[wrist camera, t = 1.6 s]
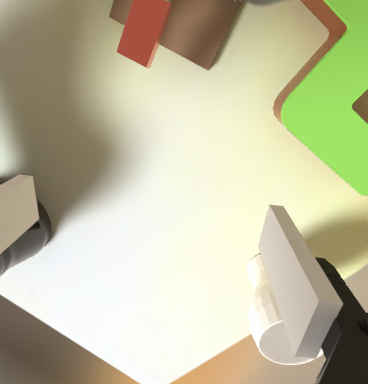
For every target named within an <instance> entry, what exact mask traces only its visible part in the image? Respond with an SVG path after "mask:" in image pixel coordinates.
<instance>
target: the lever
mask: <svg viewBox="0 0 368 384" xmlns="http://www.w3.org/2000/svg"><path fill="white" fill-rule="evenodd" d="M172 9H173V8H172V5H171V0H133V3H132V6H131V9H130V12H129V15H128V18H127V21H126V24H125V28H124V31H123V34H122V37H121V40H120V43H119V46H118V49H117V52H118V53H120V54H122V55H124V56H125V57H127V58H129V59H131V60H133V61H135V62H137V63H139V64H141V65H143V66H144V67H147V68H150V66H151V63H152V61H153V58H154V56H155V53H156V50H157V48H158V45H159V43H160V40H161V37H162V35H163V32H164V30H165V27H166V24H167V22H168V19H169V16H170V14H171V11H172Z"/></svg>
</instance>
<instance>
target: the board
mask: <svg viewBox="0 0 368 384" xmlns="http://www.w3.org/2000/svg"><path fill="white" fill-rule="evenodd" d="M240 2H241V1H239V0H237V1H236V3H234V2H232V1H230V0H171V5H172V8H173V9H172V11H171V14H170V16H169V19H168V22H167V24H166V27H165V30H164V32H163V35H162V37H161V40H160V43H159V44H160V45H162V46H164V47H166V48H168V49H170V50H171V51H173V52H175V53H177V54H179V55H181V56H183V57H184V58H186V59H188V60H190V61H192V62H194V63H195V64H197V65H199V66H201V67H203V68H205V69H207V70H209V68H210V66H211V63H212V61H213V59H214V57H215V55H216V53H217V51H218V49H219V47H220V44H221V42H222V40H223V38H224V36H225V34H226V32H227V30H228V28H229V25H230V23H231V21H232V19H233V17H234V15H235V13H236V11H237V9H238V6H239V4H240ZM132 3H133V0H114V2H113V6H112V9H111V12H110V16H109V17H111V18H112V19H114V20H116V21H118V22H120V23H121V24H123V25H125V24H126V21H127V18H128V15H129V12H130V9H131V6H132Z"/></svg>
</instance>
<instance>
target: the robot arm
mask: <svg viewBox="0 0 368 384" xmlns="http://www.w3.org/2000/svg"><path fill="white" fill-rule="evenodd" d="M50 233H51V226H50V221H49V218H48V215H47V213H46V211H45V210H44V208H43V207H42V205H41V204H40V203H39V202H38V201H37V200H36V193H35V187H34V180H33V176H28V175H17V176H16V177H14V178H12V179H10V180H9V181H7V182H5V183H0V276H1V275H2V274H3V273H4V272H5V271H6V270H7V269H9V268H11V267H13V266H15V265H17V264H19V263H21V262H23V261H24V260H26V259H28V258H30V257H32V256H34V255H35V254H37V253H38V252H39V251H40V250H41V249H42V248H43V246H44V245H45V244H46V243H47V241H48V240H49V237H50ZM258 247H259V250H260V253H261V256H262V259H263V262H264V265H265V268H266V271H267V274H268V277H269V280H270V283H271V286H272V289H273V292H274V295H275V298H276V301H277V304H278V307H279V310H280V313H281V316H282V320H283V323H284V326H285V329H286V332H287V335H288V338H289V341H290V344H291V347H292V350H293V353H294V356H296V357H304V358H312V359H316V358H317V356H318V354H319V352H320V350H321V348H322V350H323V353H324V355H325V357H326V361H325V363H324V365H323V367H322V369H321V371H320V373H319V375H318V377H317V380H316V382H315V384H368V313H366V312H365V311H364V310H363V308H362V307H361V305H360V304H359V302H358V301H357V299H356V298H355V296H354V295H353V293H352V292H351V291H350V289H349V288H348V286H346V283H345V282H344V280H343V279H342V278H341V276H340V274H339V273H338V272H337V270H336V269H335V267H334V266H333V265H331V264H330V263H329V262H328V261H327V260H325V259H324V258H316V257H314V255H313V254H312V252H311V250H310V249H309V247H308V246H307V244H306V242H305V241H304V239H303V237H302V236H301V234H300V233H299V231H298V229H297V228H296V226H295V224H294V223H293V221H292V220H291V218H290V216H289V215H288V213H287V211H286V210H285V208H284V207H283V206H276V205H269V208H268V212H267V215H266V219H265V223H264V226H263V230H262V234H261V237H260V241H259V245H258Z"/></svg>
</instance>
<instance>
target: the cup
mask: <svg viewBox="0 0 368 384" xmlns="http://www.w3.org/2000/svg"><path fill="white" fill-rule="evenodd" d="M247 273H248V275H249V278H250V280H251V282H252V284H253V286H254V293H253V295H252V297H251V301H250V305H249V312H248V317H249V324H250V330H251V333H252V335H253V338H254V340H255V342H256V344H257V346H258V348H259V350H260V352H261V354H263V355H264V356H265V357H266V358H267V359H269V360H271V361H272V362H276V363H279V364H286V365H298V364H303V363H307V362H309V361H312V360H314V359H312V358H304V357H296V356H294V353H293V350H292V347H291V344H290V341H289V338H288V335H287V332H286V329H285V326H284V323H283V320H282V316H281V313H280V310H279V307H278V304H277V301H276V298H275V295H274V292H273V289H272V286H271V283H270V280H269V277H268V274H267V271H266V268H265V265H264V262H263V259H262V256H261V254H258V255H256V256H255V257H253V258H252V259H251V260H250V262H249V264H248V267H247ZM322 354H323V350H322V348H321V350H320V352H319V354H318V356H317V357H319V356H320V355H322Z"/></svg>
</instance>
